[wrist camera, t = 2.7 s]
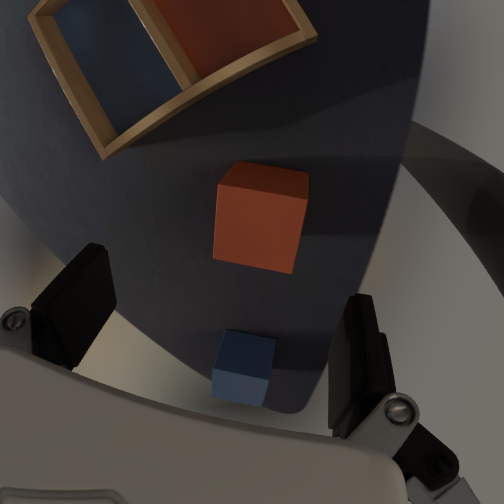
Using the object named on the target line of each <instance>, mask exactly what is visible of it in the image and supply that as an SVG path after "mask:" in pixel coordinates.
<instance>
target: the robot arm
mask: <svg viewBox="0 0 504 504" xmlns="http://www.w3.org/2000/svg"><path fill="white" fill-rule="evenodd" d="M116 304H117V300H116V295H115V290H114V285H113V279H112V274H111V268H110V262H109V256H108V251H107V250H106V249H105V247H104V246H103V245H100V244H95V243H89V244H88V245H87V246H86V247H85V248H84V249H83V250H82V251H81V252H80V253H79V254H78V255H77V256H76V257H75V258H74V259H73V260H72V261H71V262H70V263H69V264H68V265H67V266H66V267H65V268H64V269H63V270H62V271H61V272H60V273H59V274H58V275H57V276H56V278H54V280H53V281H52V282H51V283H50V284H49V285H48V286H47V287H46V288H45V290H44V291H43V292H42V293H41V294H40V295H39V296H38V297H37V298H36V300H35V301H34V302H33V303H32V304H31V307H32V309H31V310H30V311H29V310H28V309H26V308H24V307H14V308H11V309H9V310H7V311H6V312H5V313H4V314H3V315H2V317H1V318H0V504H408V501H410V502H411V503H412V504H480V502H479V501H478V499H477V497H476V496H475V494H474V493H473V491H472V489H471V488H470V486H469V485H468V483H467V481H466V480H465V478H464V477H463V478H460V477H459V475H458V472H459V461H458V459H457V456H456V455H455V454H454V453H453V451H451V450H450V449H449V448H448V447H447V446H446V445H444V444H443V443H442V442H441V441H440V440H438V439H437V438H436V437H435V436H434V435H433V434H431V433H430V432H429V431H428V430H427V429H426V428H424V427H423V426H422V425H421V424H420V423H418V420H419V408H418V406H417V404H416V403H415V401H414V400H413V399H412V398H411V397H409V396H407V395H406V394H402V393H396V387H395V380H394V374H393V369H392V363H391V357H390V352H389V347H388V342H387V338H386V335H385V334H384V333H380V332H379V329H378V323H377V318H376V313H375V310H374V304H373V300H372V296H371V295H366V294H360V293H356V294H355V296H350V297H349V299H348V302H347V304H346V307H345V309H344V312H343V314H342V317H341V319H340V322H339V324H338V327H337V329H336V331H335V334H334V336H333V339H332V341H331V343H330V346H329V351H328V372H329V375H328V376H329V377H328V378H329V396H328V399H329V401H328V408H329V409H328V428H329V429H333V434H332V437H330V436H323V435H316V434H310V433H301V432H294V431H288V430H281V429H275V428H269V427H263V426H257V425H252V424H246V423H241V422H236V421H231V420H226V419H222V418H217V417H213V416H208V415H204V414H200V413H196V412H192V411H188V410H184V409H180V408H177V407H173V406H170V405H166V404H163V403H159V402H156V401H153V400H149V399H146V398H143V397H140V396H136V395H134V394H131V393H127V392H124V391H122V390H119V389H116V388H113V387H110V386H108V385H105V384H102V383H99V382H97V381H94V380H92V379H89V378H87V377H84V376H81V375H79V374H77V373H74V372H72V370H73V368H74V367H77V366H78V365H79V363H80V362H81V360H82V359H83V357H84V355H85V354H86V352H87V351H88V349H89V347H90V346H91V344H92V343H93V341H94V340H95V338H96V337H97V335H98V333H99V332H100V330H101V329H102V327H103V326H104V324H105V323H106V321H107V320H108V318H109V317H110V315H111V314H112V312H113V311H114V309H115V307H116ZM336 437H340V438H336Z"/></svg>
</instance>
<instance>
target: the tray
mask: <svg viewBox="0 0 504 504" xmlns="http://www.w3.org/2000/svg"><path fill="white" fill-rule="evenodd" d="M28 19H29V22H30V24H31V26H32V28H33V30H34V33H35V35H36V37H37V39H38V41H39V43H40V45H41V47H42V49H43V52H44V54H45V56H46V58H47V60H48V62H49V64H50V66H51V68H52V70H53V72H54V74H55V76H56V78H57V79H58V81H59V83H60V85H61V87H62V89H63V91H64V93H65V95H66V96H67V98H68V100H69V102H70V104H71V106H72V108H73V109H74V111H75V113H76V115H77V117H78V118H79V120H80V122H81V124H82V125H83V127H84V129H85V131H86V132H87V134H88V136H89V138H90V139H91V141H92V143H93V145H94V146H95V148H96V150H97V151H98V153H99V155H100V156H101V158H102V160H105V159H107V158H109V157H111V156H113V155H115V154H117V153H119V152H121V151H123V150H125V149H126V148H128V147H129V146H130V145H132V144H133V143H135V142H136V141H137V140H139V139H140V138H142V137H143V136H144V135H146V134H147V133H149V132H150V131H152V130H153V129H155V128H156V127H158V126H159V125H161V124H162V123H164V122H165V121H167V120H168V119H170V118H171V117H173V116H174V115H176V114H177V113H179V112H181V111H182V110H184V109H185V108H187V107H189V106H190V105H192V104H194V103H195V102H197V101H199V100H200V99H202V98H204V97H205V96H207V95H209V94H211V93H212V92H214V91H216V90H218V89H219V88H221V87H223V86H225V85H227V84H228V83H230V82H232V81H234V80H236V79H238V78H240V77H242V76H243V75H245V74H247V73H249V72H251V71H253V70H255V69H257V68H259V67H261V66H263V65H265V64H267V63H270V62H272V61H274V60H276V59H278V58H280V57H282V56H285V55H287V54H289V53H291V52H293V51H296V50H298V49H300V48H303V47H305V46H307V45H310V44H312V43H315V42H317V36H318V34H317V32H316V31H315V29H314V27H313V26H312V24H311V22H310V21H309V19H308V17H307V16H306V14H305V12H304V11H303V9H302V8H301V6H300V4H299V3H298V1H297V0H41V1H40V2H39V4H38V5H37V6H36V7H35V8H34V9H33V11H32V12H31V13H30V14H29V16H28Z"/></svg>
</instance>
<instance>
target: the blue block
mask: <svg viewBox="0 0 504 504" xmlns="http://www.w3.org/2000/svg"><path fill="white" fill-rule="evenodd" d="M275 345H276V339H272V338H266V337H261V336H256V335H251V334H247V333H242V332H237V331H232V330H228V329H226V330H225V333H224V336H223V339H222V342H221V345H220V348H219V351H218V354H217V357H216V360H215V363H214V366H213V375H212V397H216V398H221V399H225V400H229V401H234V402H238V403H243V404H248V405H253V406H258V407H262V404H263V401H264V397H265V394H266V390H267V387H268V384H269V380H270V375H271V369H272V363H273V357H274V351H275Z"/></svg>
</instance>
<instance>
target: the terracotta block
mask: <svg viewBox="0 0 504 504" xmlns="http://www.w3.org/2000/svg"><path fill="white" fill-rule="evenodd" d="M308 178H309V174H308V173H306V172H301V171H295V170H290V169H284V168H279V167H273V166H267V165H261V164H255V163H249V162H242V161H237V162H236V163H235V164H234V165H233V167H232V168H231V169H230V170H229V171H228V173H227V174H226V175H225V176H224V178H223V179H222V180H221V181H220V183H219V184H218V191H217V205H216V219H215V234H214V250H213V259H217V260H222V261H227V262H233V263H238V264H243V265H248V266H253V267H258V268H263V269H268V270H274V271H279V272H284V273H289V274H292V271H293V266H294V262H295V258H296V253H297V249H298V244H299V240H300V235H301V231H302V226H303V221H304V217H305V212H306V207H307V202H308Z"/></svg>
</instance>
